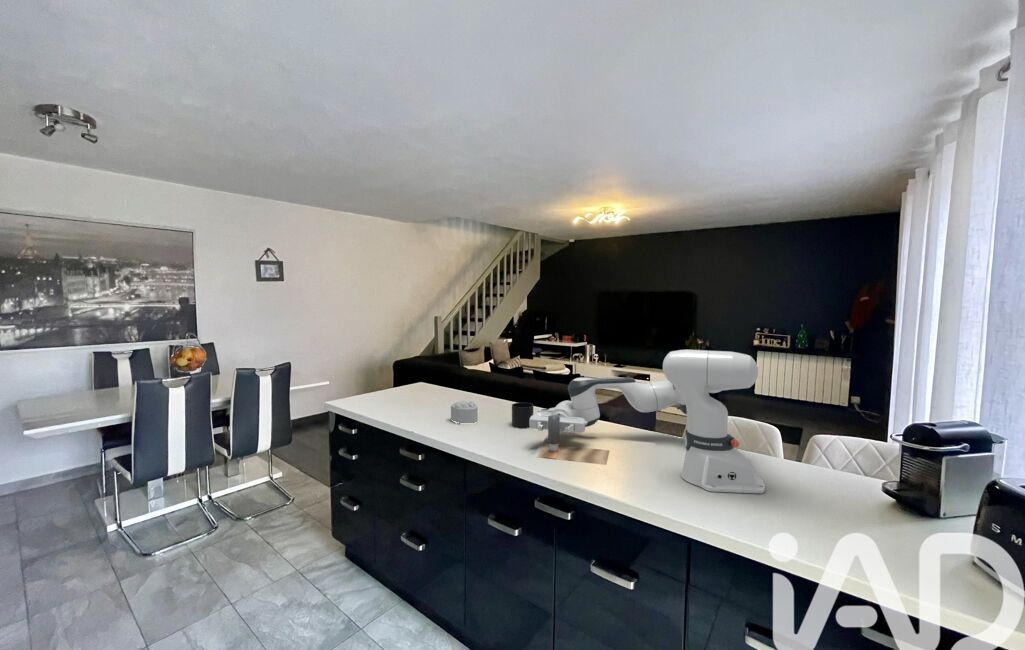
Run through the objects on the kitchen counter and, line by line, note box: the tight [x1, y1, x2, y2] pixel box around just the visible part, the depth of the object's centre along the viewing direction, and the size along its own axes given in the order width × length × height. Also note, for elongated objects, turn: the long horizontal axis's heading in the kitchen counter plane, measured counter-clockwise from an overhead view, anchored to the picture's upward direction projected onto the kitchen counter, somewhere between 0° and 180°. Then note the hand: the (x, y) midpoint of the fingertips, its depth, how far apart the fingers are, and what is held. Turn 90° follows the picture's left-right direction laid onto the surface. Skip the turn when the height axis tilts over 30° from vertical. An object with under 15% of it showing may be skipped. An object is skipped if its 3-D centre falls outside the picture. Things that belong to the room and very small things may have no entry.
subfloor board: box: [536, 443, 610, 466], centre depth 147 cm, size 23×14×2 cm, turn 73°
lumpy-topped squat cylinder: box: [450, 400, 479, 423], centre depth 192 cm, size 10×13×9 cm
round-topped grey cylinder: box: [547, 415, 561, 452], centre depth 148 cm, size 4×4×12 cm
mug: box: [511, 401, 534, 429], centre depth 187 cm, size 9×12×9 cm
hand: (553, 429), depth 147 cm, fingers open, 8 cm apart
